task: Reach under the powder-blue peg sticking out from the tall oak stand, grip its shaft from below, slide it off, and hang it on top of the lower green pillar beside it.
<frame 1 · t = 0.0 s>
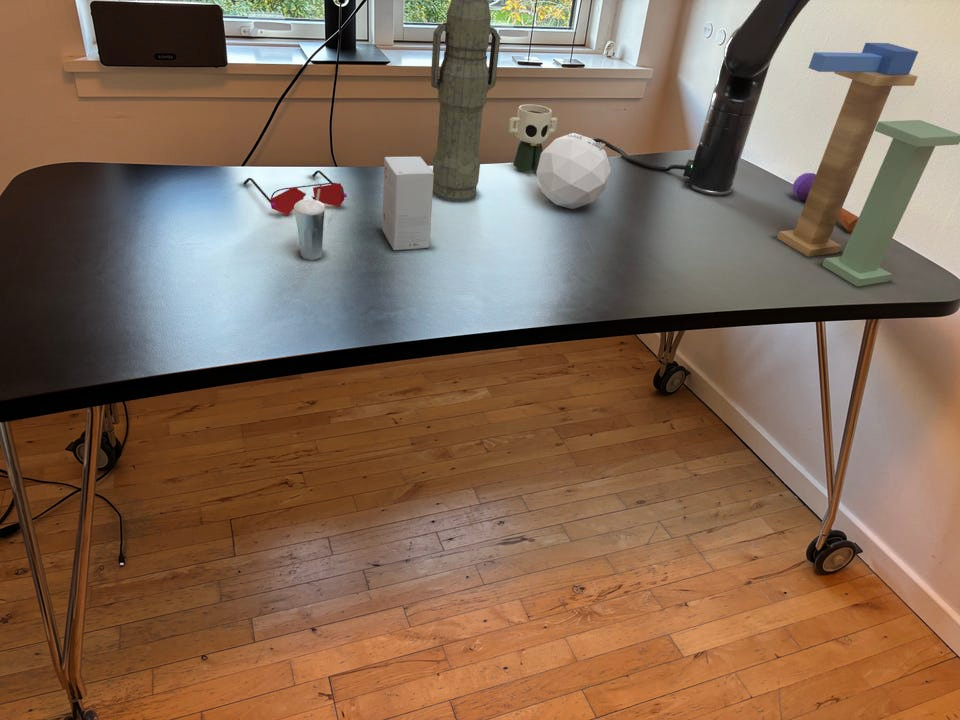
geodesic sphere: (567, 205, 141), on the table
tall stand: (807, 245, 136), on the table
character mug: (526, 170, 155), on the table
kendama: (821, 213, 151), on the table
glasses: (294, 197, 130), on the table
milkshake: (312, 255, 113), on the table
peg: (868, 70, 117), point 32 cm above the table, touching tall stand
small box: (405, 240, 120), on the table
green handled vase: (454, 194, 140), on the table
green pillar: (854, 273, 127), on the table
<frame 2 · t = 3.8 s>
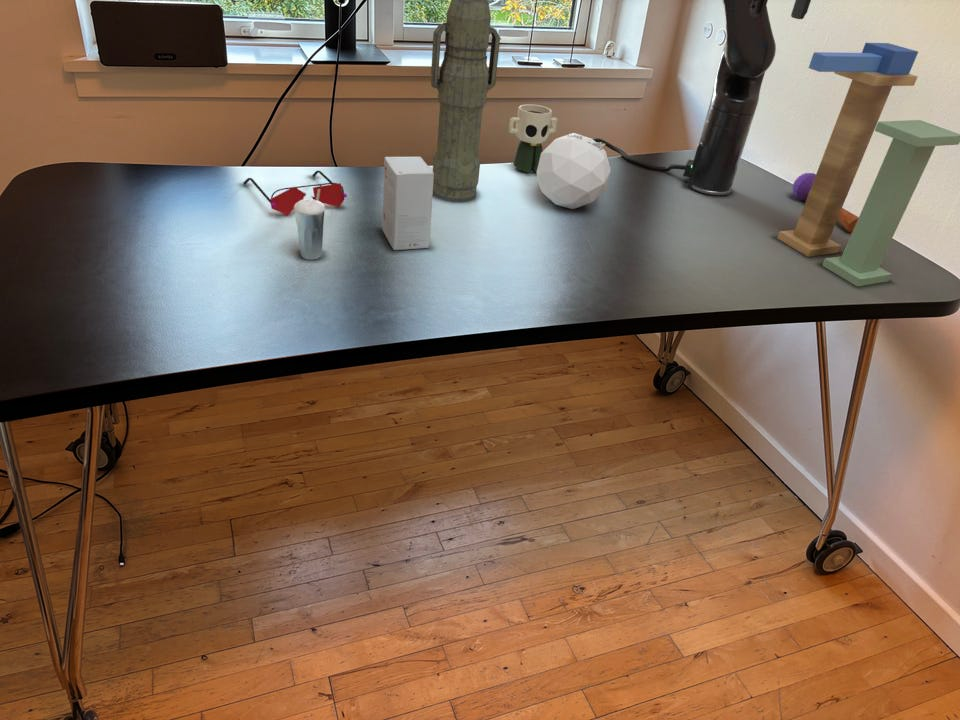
hand: (776, 17, 113), 38 cm above the table, tool pointing down, fingers open, 8 cm apart
nothing on the table moved.
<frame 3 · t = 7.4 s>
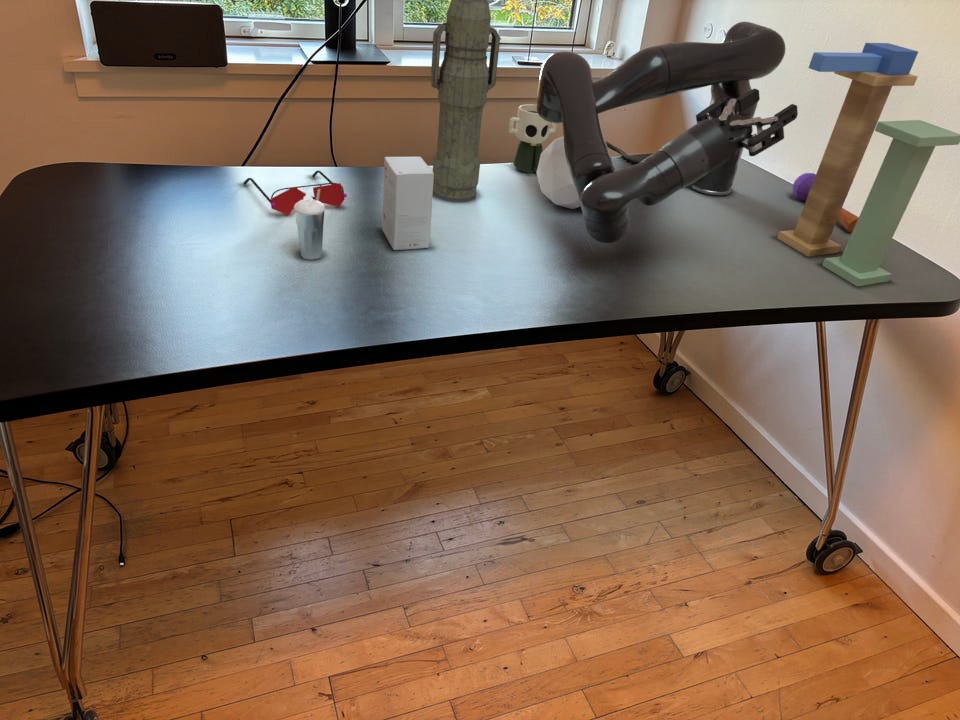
hand: (776, 101, 112), 27 cm above the table, tool pointing upward, fingers open, 8 cm apart
nothing on the table moved.
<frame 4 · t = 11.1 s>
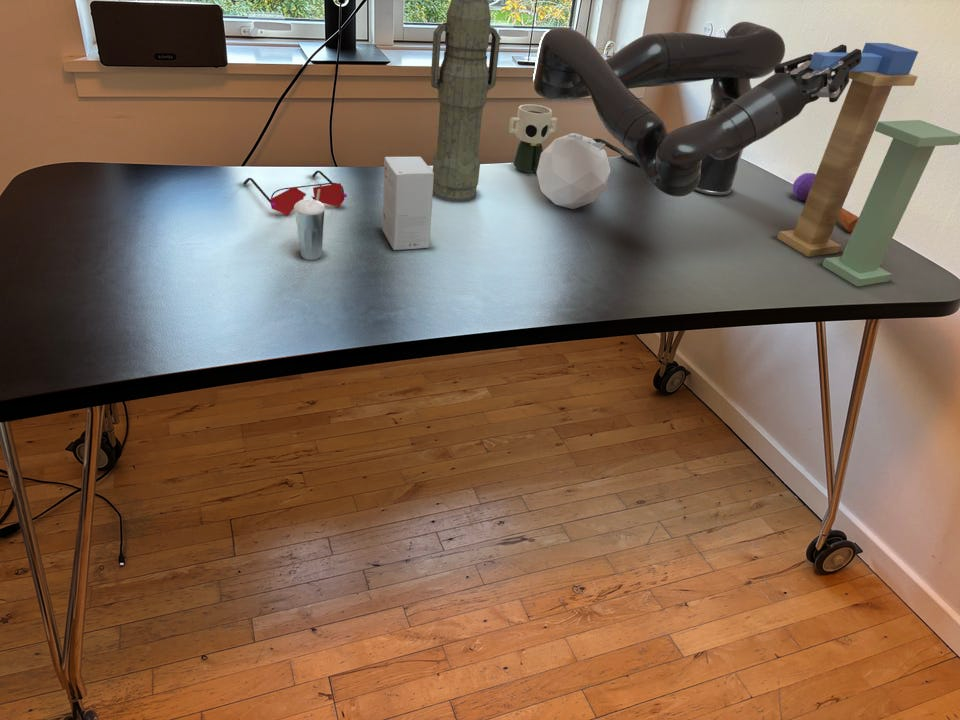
hand: (851, 52, 113), 35 cm above the table, tool pointing upward, fingers closed on peg, 2 cm apart
peg: (868, 70, 117), point 32 cm above the table, touching gripper, tall stand
everything else where it was.
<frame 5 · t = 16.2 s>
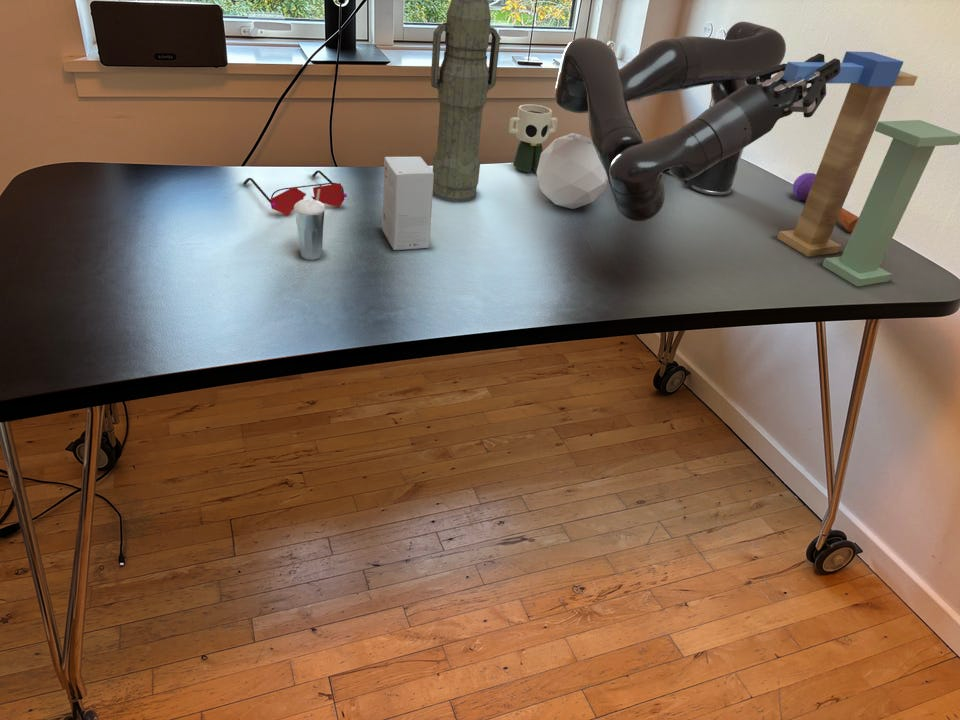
hand: (829, 62, 103), 35 cm above the table, tool pointing upward, fingers closed on peg, 2 cm apart
peg: (849, 81, 106), point 32 cm above the table, touching gripper
everything else where it was.
when the fingers open (29 cm above the table, at t = 21.6 s): peg stays where it is, resting on green pillar.
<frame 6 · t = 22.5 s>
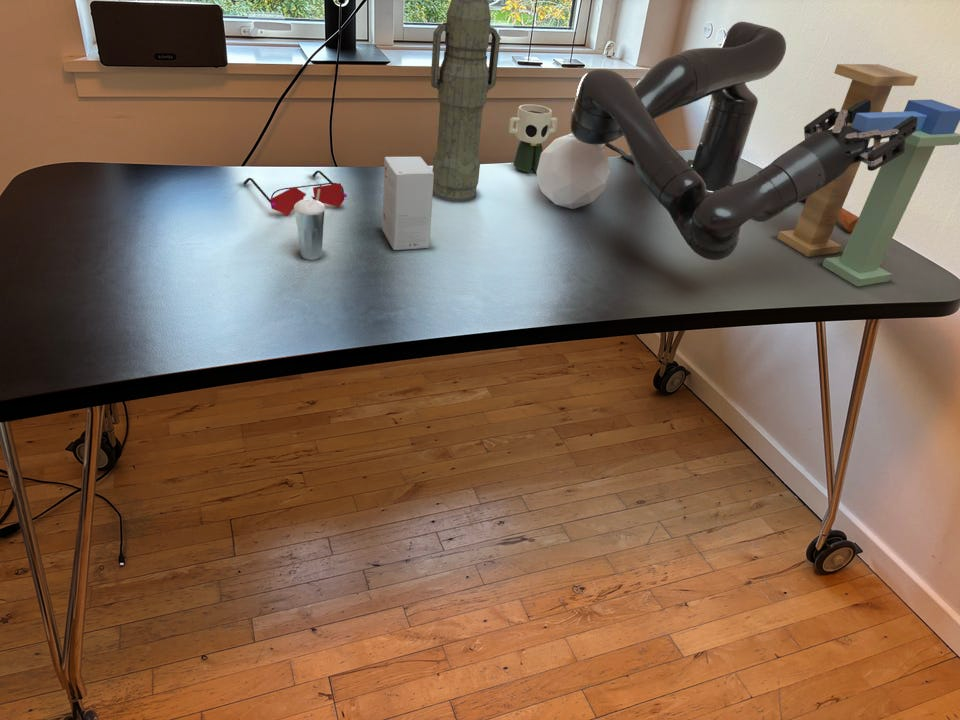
hand: (891, 112, 108), 29 cm above the table, tool pointing upward, fingers open, 8 cm apart
peg: (912, 128, 112), point 26 cm above the table, touching green pillar
everything else where it was.
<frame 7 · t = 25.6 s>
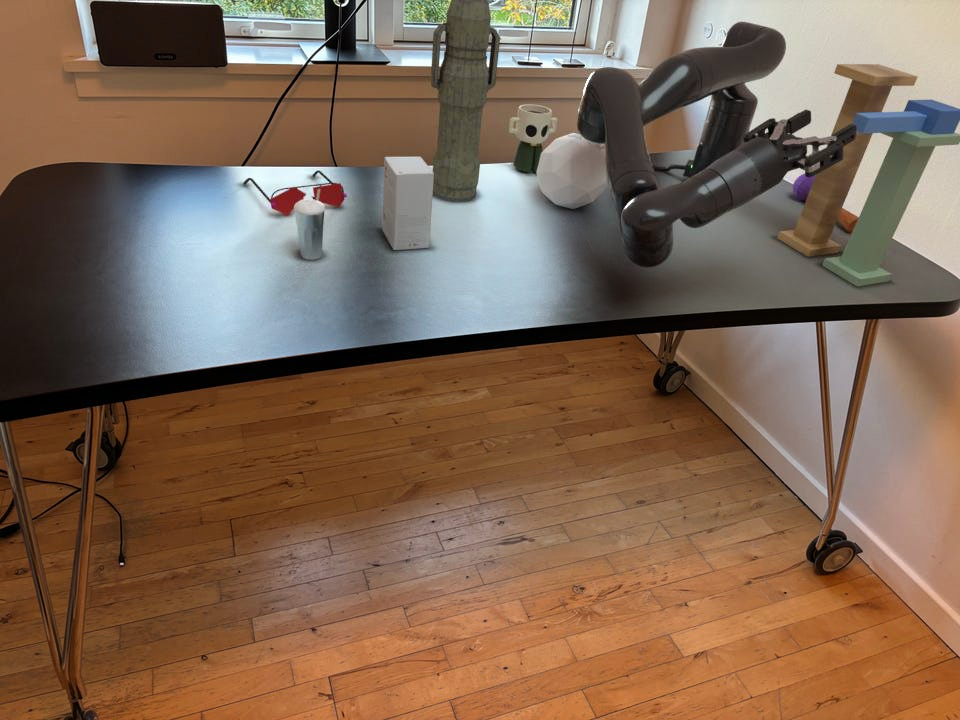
hand: (831, 122, 104), 27 cm above the table, tool pointing upward, fingers open, 8 cm apart
nothing on the table moved.
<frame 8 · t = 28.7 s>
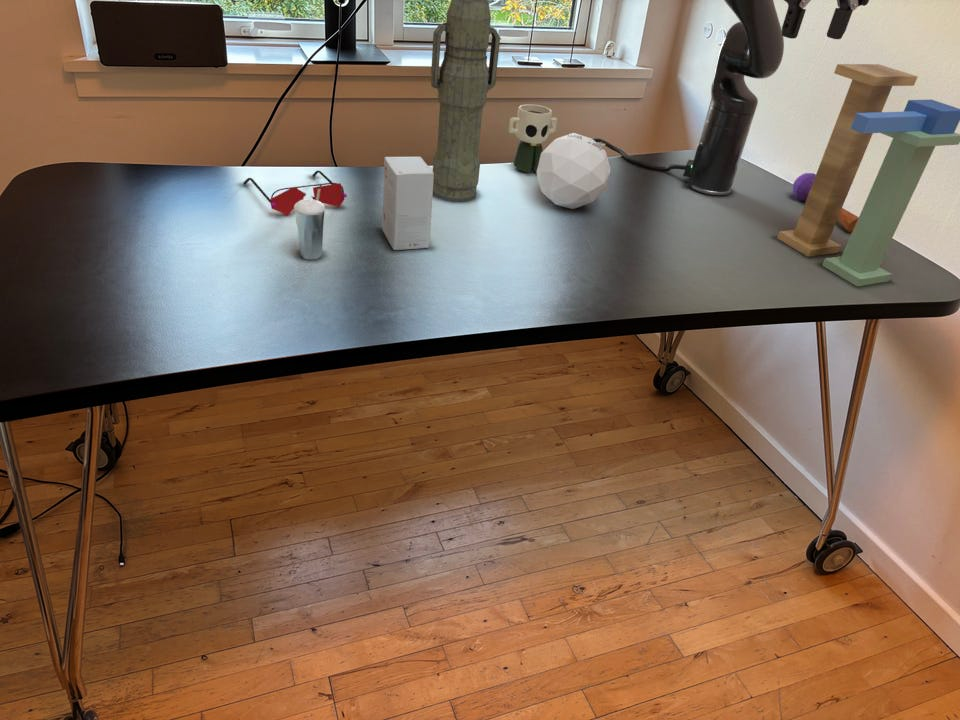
hand: (811, 37, 98), 38 cm above the table, tool pointing down, fingers open, 8 cm apart
nothing on the table moved.
at the end: peg inside the target area on the green pillar (0.1 cm from its centre), point 26.0 cm above the green pillar's base; peg tilted 0°; the gripper is holding nothing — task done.
